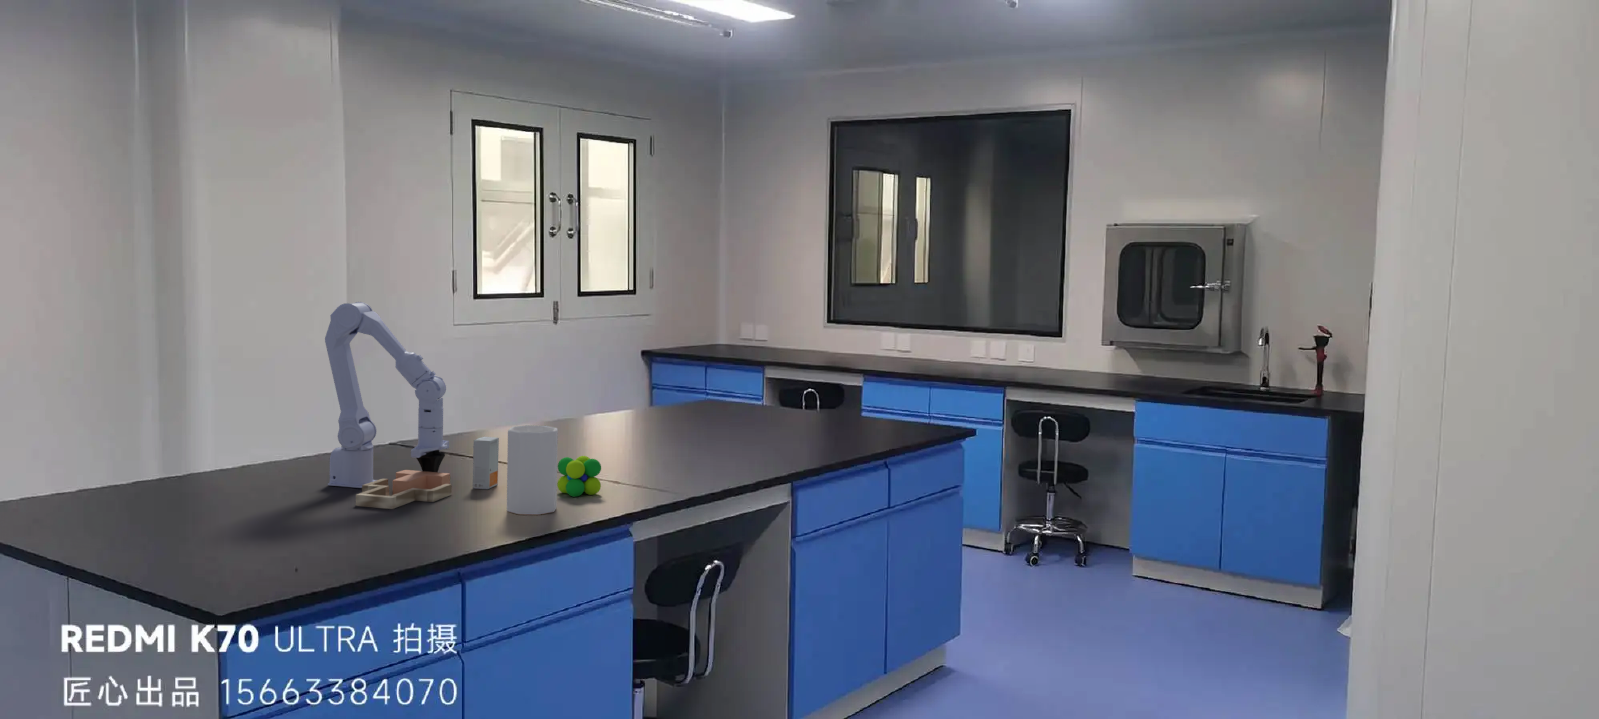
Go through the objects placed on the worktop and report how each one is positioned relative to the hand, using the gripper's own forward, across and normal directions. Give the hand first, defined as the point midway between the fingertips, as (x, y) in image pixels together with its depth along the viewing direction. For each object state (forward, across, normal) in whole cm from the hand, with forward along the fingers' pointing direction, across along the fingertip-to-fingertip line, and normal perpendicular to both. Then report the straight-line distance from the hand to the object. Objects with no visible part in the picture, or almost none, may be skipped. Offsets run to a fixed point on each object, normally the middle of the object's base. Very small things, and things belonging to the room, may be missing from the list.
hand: (430, 482), depth 278 cm
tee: (+1, -7, 0) cm, 7 cm away
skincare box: (+1, +5, -12) cm, 13 cm away
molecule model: (+1, +6, -36) cm, 36 cm away
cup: (+1, -14, -33) cm, 36 cm away
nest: (+1, -15, 0) cm, 15 cm away
